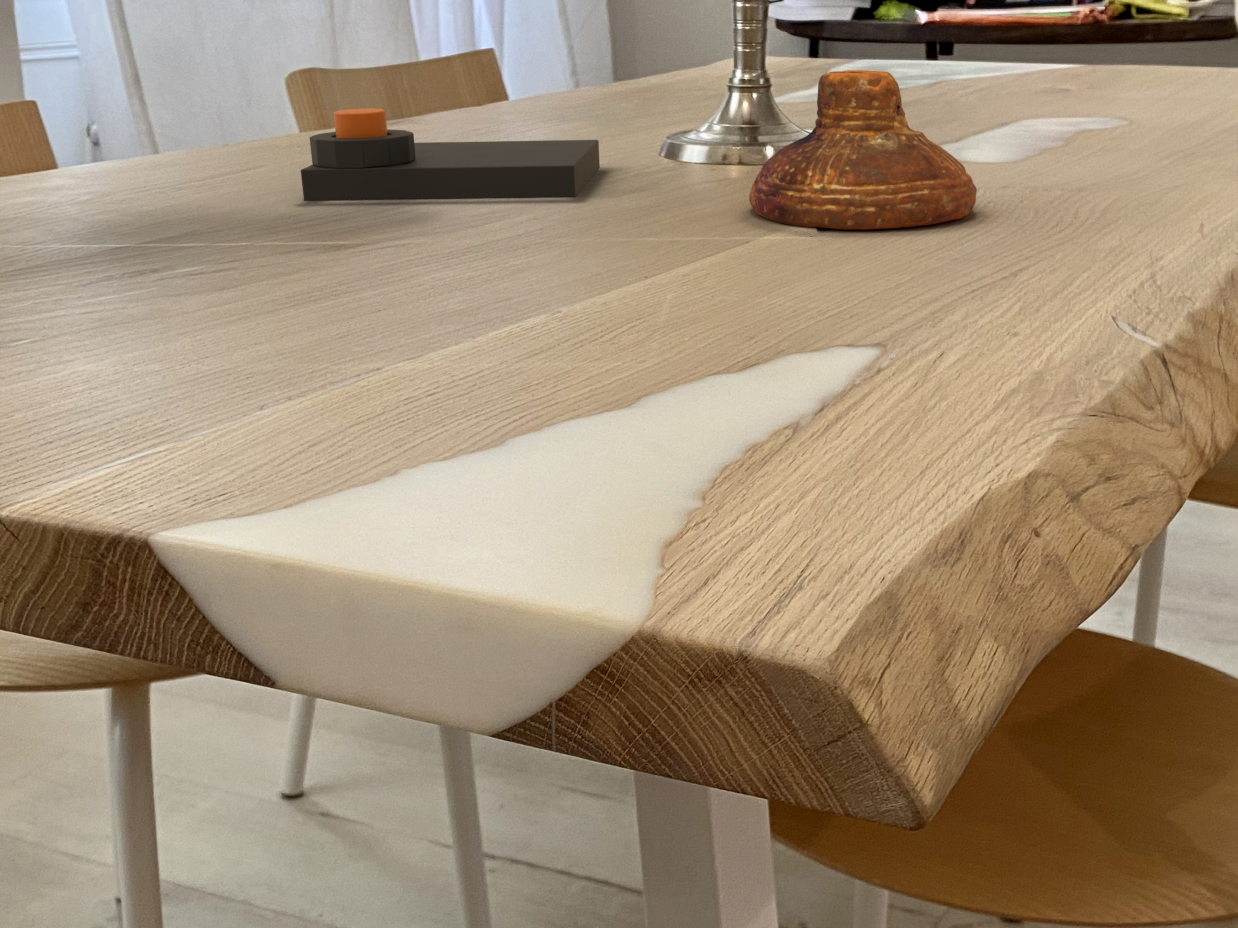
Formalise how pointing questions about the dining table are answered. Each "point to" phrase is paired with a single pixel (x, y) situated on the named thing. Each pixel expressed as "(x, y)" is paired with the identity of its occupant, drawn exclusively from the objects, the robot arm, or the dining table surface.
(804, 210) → the bell
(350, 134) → the button
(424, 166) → the scale
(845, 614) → the dining table surface
